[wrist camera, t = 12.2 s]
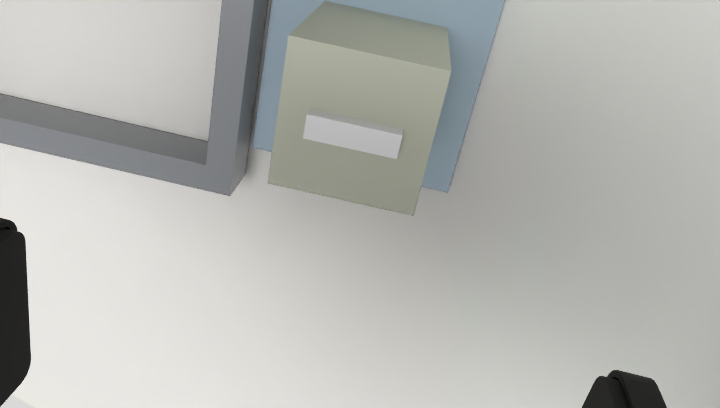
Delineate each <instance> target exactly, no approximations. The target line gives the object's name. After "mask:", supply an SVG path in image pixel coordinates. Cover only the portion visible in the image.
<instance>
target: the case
mask: <svg viewBox="0 0 720 408" xmlns="http://www.w3.org/2000/svg"><path fill="white" fill-rule="evenodd" d="M267 3H268V0H222V7H221V17H220V28H219V38H218V48H217V58H216V68H215V79H214V89H213V99H212V109H211V119H210V129H209V140H208V142H207V141H202V140H198V139H194V138H189V137H185V136H181V135H176V134H172V133H168V132H163V131H159V130H155V129H150V128H146V127H142V126H137V125H133V124H129V123H125V122H120V121H116V120H112V119H107V118H103V117H99V116H94V115H90V114H86V113H81V112H77V111H73V110H68V109H64V108H60V107H55V106H51V105H47V104H42V103H38V102H34V101H29V100H25V99H21V98H16V97H12V96H8V95H3V94H0V143H4V144H8V145H12V146H17V147H21V148H25V149H29V150H34V151H38V152H42V153H47V154H51V155H55V156H60V157H64V158H68V159H73V160H77V161H81V162H86V163H90V164H94V165H98V166H103V167H107V168H111V169H116V170H120V171H124V172H129V173H133V174H137V175H142V176H146V177H150V178H155V179H159V180H163V181H168V182H172V183H176V184H180V185H185V186H189V187H193V188H198V189H202V190H206V191H211V192H215V193H219V194H224V195H228V196H231V194H232V193H233V191H234V190H235V188H236V187H237V186H238V184H239V183H240V181H241V180H242V178H243V177H244V175H245V172H246V164H247V156H248V149H249V141H250V133H251V126H252V118H253V110H254V103H255V95H256V87H257V80H258V72H259V64H260V57H261V49H262V41H263V34H264V26H265V18H266V11H267Z"/></svg>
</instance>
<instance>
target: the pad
mask: <svg viewBox="0 0 720 408" xmlns="http://www.w3.org/2000/svg"><path fill="white" fill-rule="evenodd" d="M324 1H329V2H334V3H338V4H343V5H347V6H352V7H357V8H361V9H366V10H370V11H375V12H379V13H384V14H388V15H393V16H397V17H402V18H407V19H411V20H416V21H420V22H425V23H429V24H434V25H438V26H443V27H447V30H448V40H449V50H450V61H451V75H450V79H449V83H448V86H447V90H446V94H445V98H444V102H443V105H442V109H441V113H440V117H439V120H438V124H437V128H436V132H435V136H434V139H433V143H432V147H431V151H430V154H429V158H428V162H427V166H426V170H425V173H424V177H423V181H422V185H421V186H422V187H426V188H430V189H435V190H439V191H443V192H448V189H449V186H450V183H451V179H452V176H453V173H454V169H455V166H456V163H457V159H458V156H459V153H460V149H461V146H462V142H463V139H464V136H465V132H466V129H467V126H468V122H469V119H470V116H471V112H472V109H473V106H474V102H475V99H476V96H477V92H478V89H479V85H480V82H481V79H482V75H483V72H484V69H485V65H486V62H487V59H488V55H489V52H490V49H491V45H492V42H493V39H494V35H495V32H496V28H497V25H498V22H499V18H500V15H501V12H502V8H503V5H504V2H505V0H272V5H271V12H270V20H269V27H268V35H267V42H266V50H265V57H264V65H263V72H262V80H261V87H260V95H259V102H258V110H257V117H256V125H255V132H254V139H253V148H257V149H262V150H266V151H270V152H272V150H273V143H274V136H275V128H276V121H277V114H278V107H279V100H280V93H281V85H282V78H283V71H284V64H285V57H286V50H287V43H288V35H289V34H290V33H291V32H292V31H294V30H295V29H296V28H297V27H298V26H299V25H300V24H301V23H302V22H303V21H304V20H305V19H306V18H307V17H308V16H309V15H310V14H311V13H312V12H313V11H315V10H316V9H317V8H318V7H319V6H320V5H321V4H322V3H323V2H324Z"/></svg>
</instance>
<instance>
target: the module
mask: <svg viewBox="0 0 720 408" xmlns="http://www.w3.org/2000/svg"><path fill="white" fill-rule="evenodd" d="M450 75H451V61H450V50H449V40H448V30H447V27H443V26H438V25H434V24H429V23H425V22H420V21H416V20H411V19H407V18H402V17H397V16H393V15H388V14H384V13H379V12H375V11H370V10H366V9H361V8H357V7H352V6H347V5H343V4H338V3H334V2H329V1H324V2H323V3H322V4H321V5H320V6H319V7H318V8H317V9H316V10H315V11H313V12H312V13H311V14H310V15H309V16H308V17H307V18H306V19H305V20H304V21H303V22H302V23H301V24H300V25H299V26H298V27H297V28H296V29H295V30H294V31H292V32H291V33H290V34H289V35H288V43H287V50H286V57H285V64H284V71H283V78H282V85H281V93H280V100H279V107H278V114H277V121H276V128H275V136H274V143H273V150H272V157H271V164H270V171H269V179H268V183H269V184H274V185H278V186H283V187H287V188H292V189H296V190H301V191H305V192H310V193H314V194H318V195H323V196H327V197H332V198H336V199H341V200H345V201H350V202H354V203H359V204H363V205H368V206H372V207H377V208H381V209H386V210H390V211H395V212H399V213H404V214H408V215H414V211H415V207H416V204H417V200H418V196H419V192H420V188H421V185H422V181H423V177H424V173H425V170H426V166H427V162H428V158H429V154H430V151H431V147H432V143H433V139H434V136H435V132H436V128H437V124H438V120H439V117H440V113H441V109H442V105H443V102H444V98H445V94H446V90H447V86H448V83H449V79H450Z"/></svg>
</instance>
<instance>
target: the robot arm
mask: <svg viewBox="0 0 720 408" xmlns="http://www.w3.org/2000/svg"><path fill="white" fill-rule="evenodd" d="M30 363H31V352H30V331H29V310H28V288H27V267H26V246H25V237H24V235H23V234H22V233H20V232H17V227H16V225H15V224H14V222H12V221H10V220H7V219H3V218H0V406H1V405H2V404H3V403H4V402H5V400H7V398H8V397H9V396H10V395H11V394H12V393H13V392H14V391H15V390H16V388H17V387H18V386H19V385H20V384H21V383H22V381H23V380H24V378H25V377H26V375H27V373H28V370H29V367H30ZM582 408H667V407H666V405H665V402H664V400H663V398H662V395H661V393H660V391H659V388H658V386H657V384H656V383H655V381H654V380H652V379H651V378H647V377H643V376H639V375H635V374H631V373H627V372H623V371H619V370H613V371H612V372H611V373H610V374H609V375H608V377H604V376H599V377H598V378H597V379H596V380H595V382H594V384H593V386H592V388H591V390H590V392H589V394H588V396H587V398H586V400H585V402H584V404H583V406H582Z"/></svg>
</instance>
